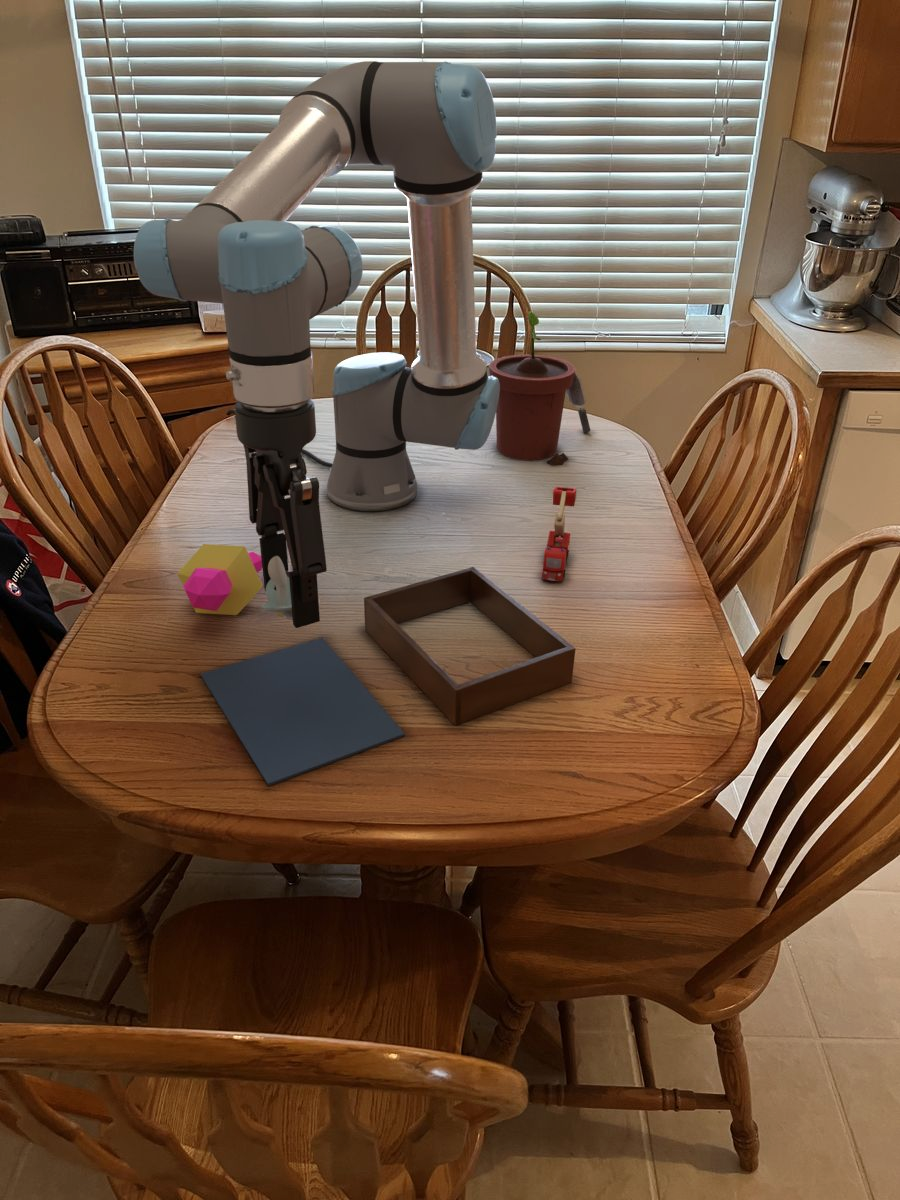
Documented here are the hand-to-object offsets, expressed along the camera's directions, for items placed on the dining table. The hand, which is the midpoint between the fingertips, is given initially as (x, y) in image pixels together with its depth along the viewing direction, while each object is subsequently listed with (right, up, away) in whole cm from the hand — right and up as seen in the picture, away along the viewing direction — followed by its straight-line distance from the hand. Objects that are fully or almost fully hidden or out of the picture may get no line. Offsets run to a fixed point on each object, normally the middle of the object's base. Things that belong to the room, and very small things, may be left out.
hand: (291, 605), depth 97 cm
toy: (-13, 0, +25) cm, 29 cm away
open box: (+19, -6, +16) cm, 26 cm away
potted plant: (+35, +30, +77) cm, 89 cm away
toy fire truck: (+33, +6, +38) cm, 51 cm away
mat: (0, -12, +7) cm, 14 cm away
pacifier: (0, -1, 0) cm, 1 cm away
